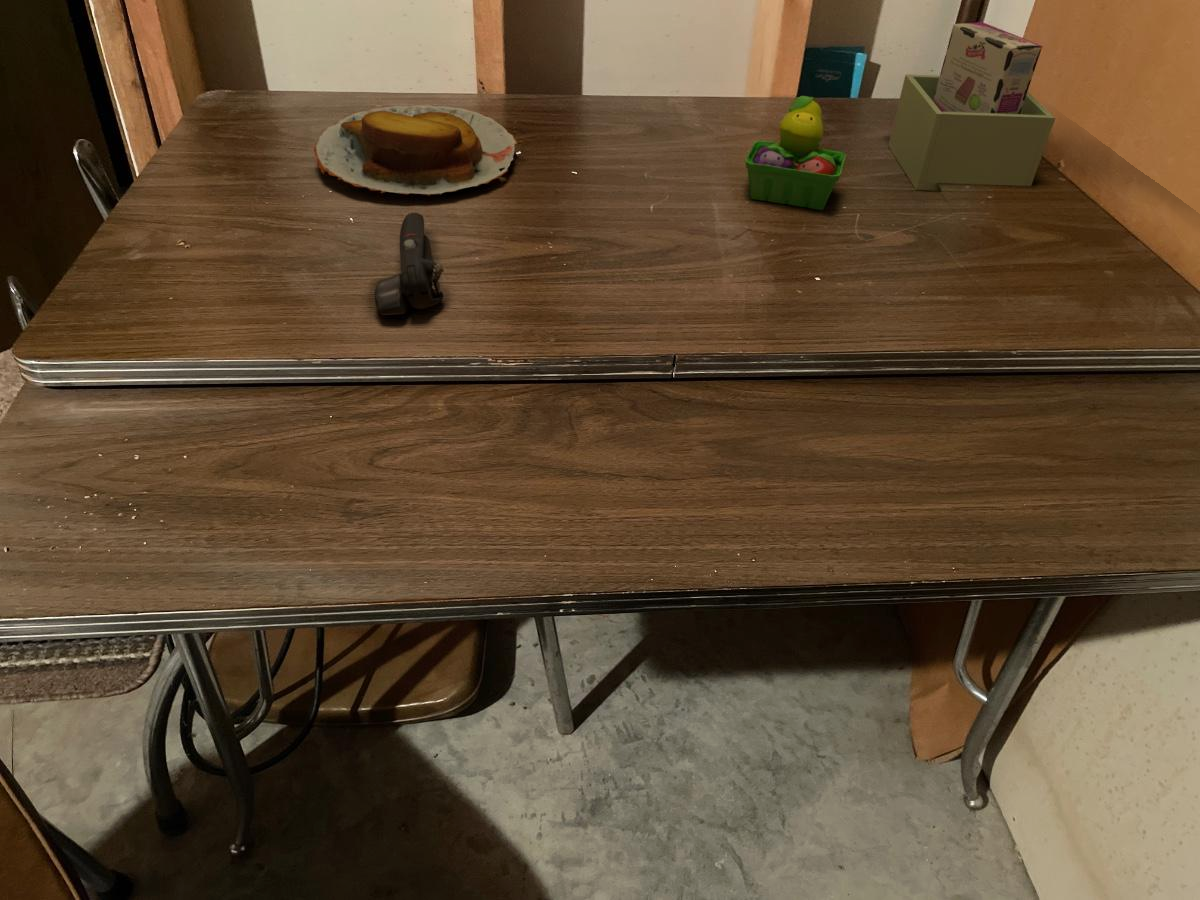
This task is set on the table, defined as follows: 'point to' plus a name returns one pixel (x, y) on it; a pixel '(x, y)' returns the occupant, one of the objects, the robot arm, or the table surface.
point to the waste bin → (965, 140)
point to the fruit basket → (795, 161)
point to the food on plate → (415, 149)
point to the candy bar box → (985, 70)
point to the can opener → (411, 273)
